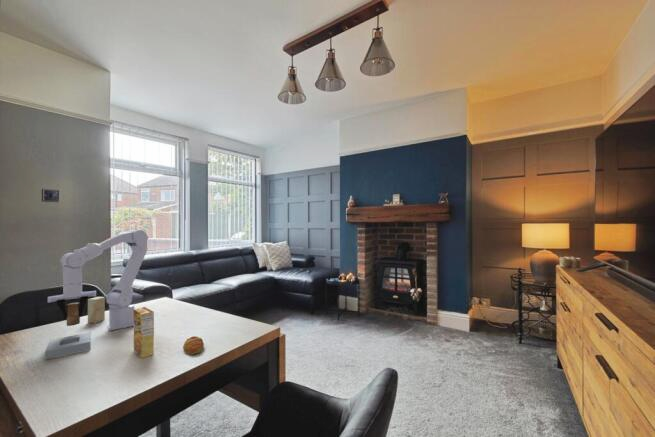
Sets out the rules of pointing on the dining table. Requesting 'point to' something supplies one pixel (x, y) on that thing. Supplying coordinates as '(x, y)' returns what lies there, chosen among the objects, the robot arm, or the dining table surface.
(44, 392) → the dining table surface
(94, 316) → the box
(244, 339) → the dining table surface
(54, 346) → the socket block
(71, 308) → the peg
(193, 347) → the pastry
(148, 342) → the candy box
